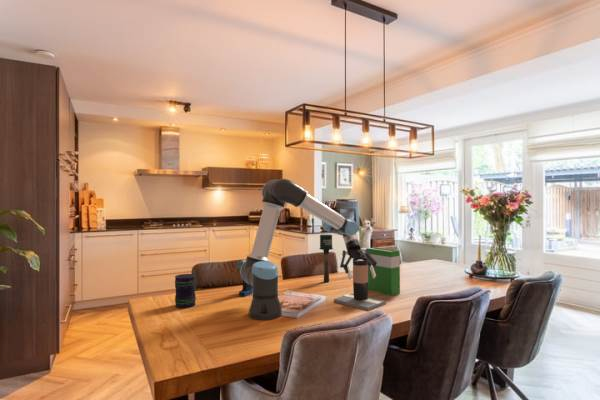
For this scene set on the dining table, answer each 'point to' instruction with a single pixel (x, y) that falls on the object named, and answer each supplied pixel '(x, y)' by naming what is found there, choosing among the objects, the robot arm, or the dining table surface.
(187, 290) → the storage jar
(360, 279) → the travel mug
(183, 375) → the dining table surface
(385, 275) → the hardback book
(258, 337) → the dining table surface
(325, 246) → the potato masher grenade
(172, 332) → the dining table surface
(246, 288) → the handheld scanner
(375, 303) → the grey book
